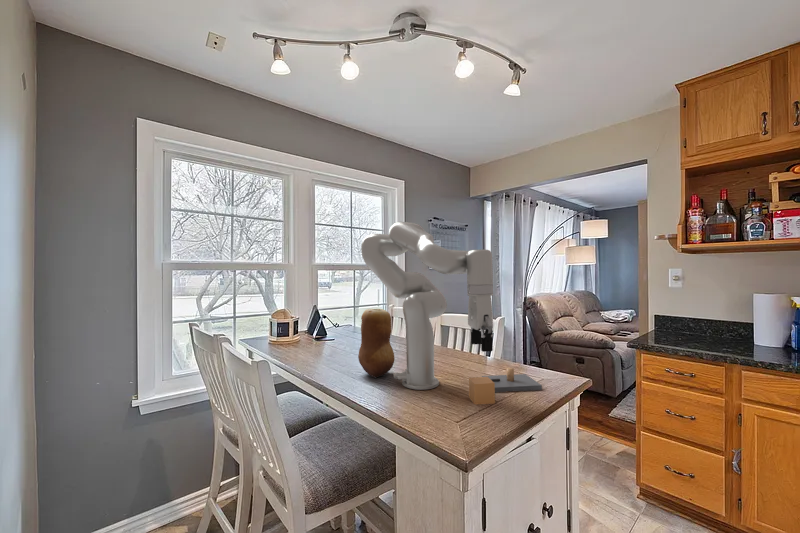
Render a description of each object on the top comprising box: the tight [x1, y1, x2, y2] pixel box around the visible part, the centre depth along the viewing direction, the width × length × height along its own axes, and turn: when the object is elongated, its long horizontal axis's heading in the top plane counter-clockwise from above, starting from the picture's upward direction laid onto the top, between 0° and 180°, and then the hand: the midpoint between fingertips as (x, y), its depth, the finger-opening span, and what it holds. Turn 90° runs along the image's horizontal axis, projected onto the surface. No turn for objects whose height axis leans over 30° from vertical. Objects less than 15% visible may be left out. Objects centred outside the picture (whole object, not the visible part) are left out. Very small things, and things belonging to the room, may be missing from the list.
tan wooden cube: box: [468, 376, 496, 406], centre depth 106 cm, size 6×6×6 cm
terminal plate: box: [481, 367, 543, 393], centre depth 119 cm, size 16×12×6 cm
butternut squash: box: [358, 308, 395, 378], centre depth 132 cm, size 14×13×25 cm
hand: (481, 347), depth 106 cm, fingers open, 9 cm apart
